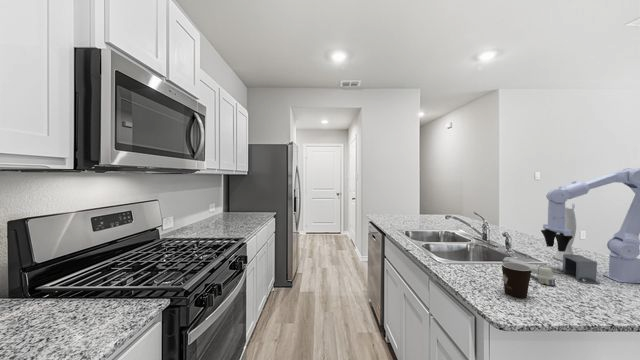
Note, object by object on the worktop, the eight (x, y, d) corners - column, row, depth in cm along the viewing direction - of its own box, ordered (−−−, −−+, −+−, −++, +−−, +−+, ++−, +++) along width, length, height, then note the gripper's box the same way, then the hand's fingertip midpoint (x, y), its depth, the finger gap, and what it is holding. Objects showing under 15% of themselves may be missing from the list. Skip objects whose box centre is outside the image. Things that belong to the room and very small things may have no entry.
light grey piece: (511, 256, 132) (558, 267, 108) (512, 271, 132) (560, 285, 107) (500, 256, 132) (545, 267, 107) (501, 271, 132) (546, 285, 107)
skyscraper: (581, 263, 134) (583, 203, 133) (564, 263, 134) (566, 203, 133) (566, 257, 142) (568, 201, 141) (549, 257, 142) (551, 201, 141)
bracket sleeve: (574, 271, 123) (574, 253, 123) (601, 284, 109) (602, 264, 109) (557, 270, 124) (557, 252, 124) (581, 283, 110) (582, 263, 110)
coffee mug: (532, 302, 94) (532, 272, 94) (501, 296, 99) (501, 267, 98) (528, 289, 104) (529, 262, 104) (500, 284, 109) (501, 258, 108)
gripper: (536, 214, 130) (535, 244, 131) (557, 219, 116) (556, 253, 116) (553, 214, 129) (552, 244, 130) (576, 220, 115) (576, 253, 115)
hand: (555, 248), depth 123 cm, fingers open, 7 cm apart
